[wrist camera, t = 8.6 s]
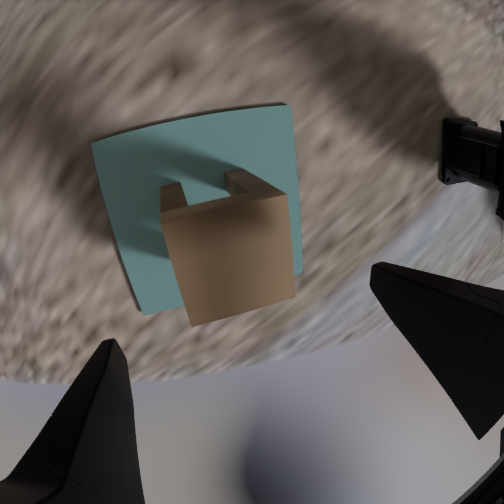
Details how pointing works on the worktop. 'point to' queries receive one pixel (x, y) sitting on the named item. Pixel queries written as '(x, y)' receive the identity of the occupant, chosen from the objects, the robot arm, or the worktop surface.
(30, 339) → the worktop surface
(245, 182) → the brown u-shaped block
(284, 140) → the mat
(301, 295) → the worktop surface
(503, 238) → the french press
